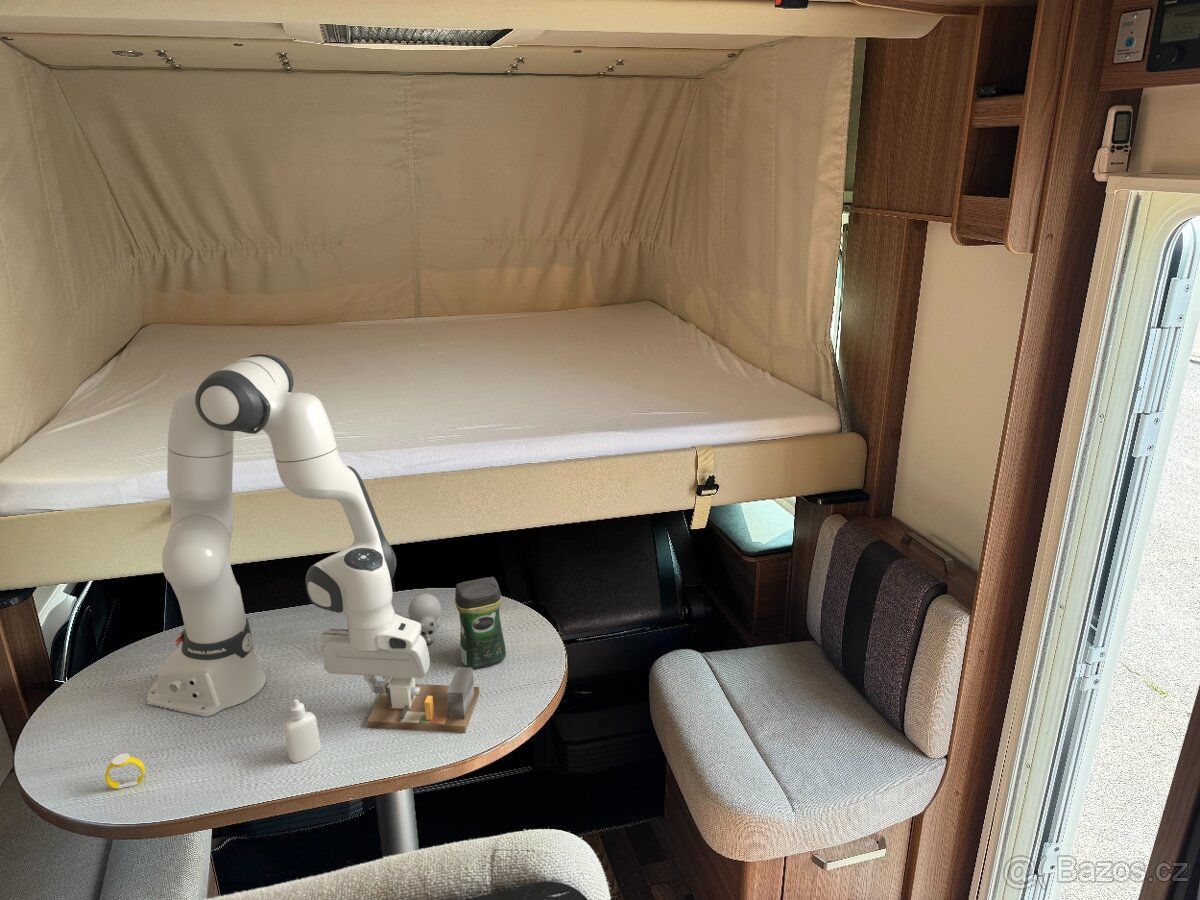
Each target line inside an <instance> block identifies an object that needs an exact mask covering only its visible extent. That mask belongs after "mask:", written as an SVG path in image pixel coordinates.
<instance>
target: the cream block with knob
mask: <svg viewBox="0 0 1200 900" xmlns="http://www.w3.org/2000/svg"><path fill="white" fill-rule="evenodd" d="M388 683H389V684H388V686H387V696H388V704H389V708H399V709H403V711H402V713H401V715H400V719H404V717H405V715H406V713H407V710H408V709H410V708H411V705H412V703H413V701H414V699H415V697H416V696H420V693H421V688H420V687H416V686H415V684H416V679H415V678H413V677H393V676H391V678H390V680H389V682H388Z"/></svg>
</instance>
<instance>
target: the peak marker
mask: <svg viewBox="0 0 1200 900" xmlns="http://www.w3.org/2000/svg"><path fill="white" fill-rule="evenodd" d="M424 704H425V713H426V720H432V717H433V715H434V705H433V696H427V698H426V700H425V702H424Z"/></svg>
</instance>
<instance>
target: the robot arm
mask: <svg viewBox="0 0 1200 900" xmlns="http://www.w3.org/2000/svg"><path fill="white" fill-rule="evenodd" d="M293 388H294V375H293V372H292V370H291V369H290V367H289V365H288V364H287V363H286V362H285V361H283V359H281V358H279V357H277V356H275V355H271V354H267V353H266V354H263V353H262V354H261V353H259V354H252V355H250V356H248V357H245V358H241V359H237V360H235V361H232V362H230V363H228V364H227V365H225V367H223V368H221V369H219V370H216V371H214V372H213V373H210V374H209V375H208V376H207V377H206V378H204V380H202V382H201V383H200V384H199V386H198V387H195V388H193V387H192V388H190V389H187V390H184V391H182V392H180V393H179V394H178V395H177V396H176V398H175V399H174V402H173V405H172V408H171V413H170V419H169V426H168V432H167V433H168V434H167V469H166V470H167V474H166V475H167V477H166V478H167V479H166V480H167V482H166V485H167V490H168V495H169V501H170V503H169V504H170V513H171V515H170V516H171V518H170V524H169V525H170V526H169V530H168V534H167V538H166V540H165V543H164V545H163V548H162V551H161V552H162V553H161V564H162V571H163V574H164V577H165V579H166V580H167V581H168V583H169V584H170V586H171V588H172V590H173V591H174V594H175V596H176V598H177V600H178V603H179V607H180V608H179V609H180V612H181V617H182V620H183V625H184V629H183V630H182V631H181V632H180V635H179V636H178V637H177V638H176V639H175V641H174V642H175V643H176V644H175V646H176V647H177V646H179V644H180V643H181V642H182V643H181V645H180V646H179V647H178V648H177V649H176V650H174V651H173V652H172V653H171V654H170V655H169V656H167V658H166V659H165V660H164V661H163V663H162V664H161V665H160V667H159V670H158V672H157V674H156V675H157V677H156V678H157V679H156V681H155V682H154V684H153V685H152V686H151V688H150V689H149V691H148V693H147V697H146V700H147V704H148V703H149V704H151V705H150V706H152V705H156V706H155V707H157V706H160V707H159V708H161V707H165V708H164V709H166V708H170V709H169V710H171V709H174V710H173V711H176V710H178V711H177V712H181V711H183V712H182V713H185V712H186V713H187V714H191V715H196V716H201V717H211V716H213V715H214V714H217V713H218V712H221V711H222V710H224V709H227V708H231V707H234V706H236V705H237V706H238V704H241V703H244V702H246V701H249V699H251V698H252V697H254V696H255V695H257V694H258V693H259V692H260V691H261V690H262V689H263V687H264V686H265V684H266V680H267V676H266V673H265V672H264V670H263V668H262V666H261V664H260V663H259V660H258V658H257V656H256V653H255V651H254V646H253V636H252V630H251V626H250V622H249V619H248V618H247V616H246V612H245V607H244V602H243V598H242V597H243V596H242V592H241V587H240V585H239V584H238V583H237V580H236V578H235V575H234V573H233V570H232V566H231V561H230V547H231V542H232V537H233V531H234V530H233V529H234V502H233V500H234V499H233V498H234V497H233V475H234V474H233V471H234V470H233V469H234V467H233V466H234V443H235V442H234V437H235V432H240V433H246V434H251V435H256V434H258V433H259V432H261V431H262V432H264V433H265V434H266V435H267V436H268V438H269V441H270V444H271V448H272V453H273V456H274V460H275V465H276V469H277V472H278V476H279V478H280V481H281V482H282V485H283V486H284V487H285V488H286V489H287V490H288V491H289V492H290V493H292V494H294V495H296V496H299V497H301V498H306V499H312V500H313V499H314V500H335V501H336V502H338V503H339V504H340V505H341V507H342V510H343V511H344V514H345V517H346V519H347V521H348V524H349V527H350V528H351V531H352V535H353V537H354V538H353V542H352V544H351V545H349V546H348V547H346V548H344V549H342V550H340V551H339V552H336V553H334V554H332V555H329V556H328V557H326V558H324V559H321V560H320V561H318V562H316V563H314V564H313V565H311V566H310V567H309V568H308V570H307V572H306V576H305V590H306V594H307V597H308V599H309V600H310V603H311V604H313V605H314V606H316V607H318V608H321V609H323V610H324V611H329V612H333V613H338V614H340V613H344V614H345V615H346V624H347V628H332V627H331V628H327V629H326V630H324V631H323V632H322V633H321V636H320V637H321V645H322V647H323V668H324V670H325V671H326V672H327V673H328V674H335V675H353V676H354V675H357V676H363V679H364V680H365V681H366V682H367V684H368V685H369V686H370V691H371V693H377V694H379V693H380V694H382V693H387V686H388V683H389V682H390V680H391V678H392V676H393V677H413V678H416V679H417V678H418V679H423V678H424V677H425V675H427V673H428V672H429V668H430V666H431V661H430V660H431V659H430V653H429V648H428V644H426V641H425V639H424V638H423V637H422V636H421V635H420V633H421V624H420V623H419V622H416V621H413V620H411V618H407V617H404V616H401V615H400V614H397V613H396V612H395V609H394V607H393V603H392V599H393V586H392V580H393V578H394V575H395V572H396V568H397V557H396V554H395V551H394V549H393V548H392V546H391V545H390V543H389V541H388V539H387V538H386V536H385V534H384V532H383V529H382V527H381V523H380V521H379V519H378V516H377V513H376V511H375V509H374V506H373V503H372V500H371V498H370V496H369V493H368V491H367V489H366V486H365V484H364V481H363V479H362V477H361V475H360V474H359V472H358V471H357V470H356V469H354V468H355V467H352V466H350V465H346V463H345V462H344V460H343V458H342V457H341V454H340V451H339V450H338V444H337V441H336V437H335V434H334V430H333V427H332V424H331V422H330V419H329V416H328V414H327V412H326V410H325V407H324V404H323V402H322V401H321V400H320V399H319V398H318V397H317V396H316V395H314V394H312V393H307V392H301V391H300V392H299V391H298V392H297V391H296V392H293ZM377 676H378V677H379V676H380V677H381V678H382V680H378V679H377V678H376V677H377ZM149 704H148V705H149Z"/></svg>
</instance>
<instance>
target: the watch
mask: <svg viewBox="0 0 1200 900" xmlns="http://www.w3.org/2000/svg"><path fill="white" fill-rule="evenodd" d="M128 764H130V765H131V764H132V765H135V766H136V767H137V768H139V769H140V772H141V774H140V775H139V777H138V778H137V779H138V780H137V779H136V780H137V783H139V784H140V783H142V781H143V780H144V776H145V772H146V766H145V763H143V761H142V760H140V759H139V758H137V757H132V756H131V755H130V754H129V753H127V752H126V753H125V752H123V753H121V754H118V755H116V756H114V758H112V761H111V762H110V763H109V764H108V765H107V768H106V770H105V772H104V773H105V774H104V777H105V782H106V784H107V785H108V786H109V787H110V788H113V789H116V788H119V784H120V783H121V782H118V781H116V780H114V779H113V778H112V777H111V776H110V770H112V769H113V768H122V767H124V766H126V765H128ZM116 790H117V789H116Z"/></svg>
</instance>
